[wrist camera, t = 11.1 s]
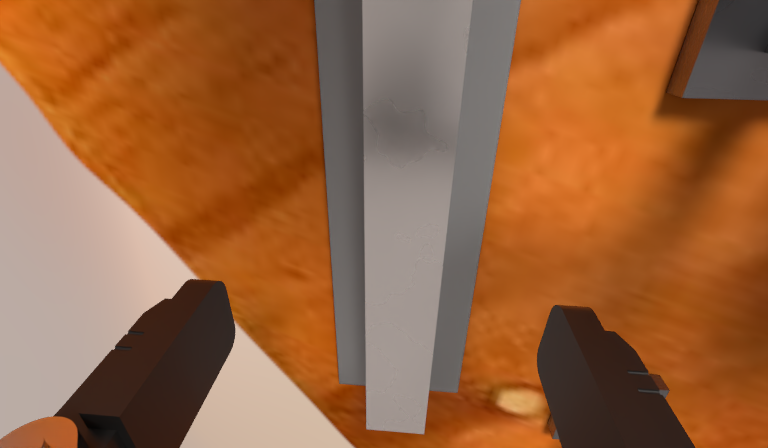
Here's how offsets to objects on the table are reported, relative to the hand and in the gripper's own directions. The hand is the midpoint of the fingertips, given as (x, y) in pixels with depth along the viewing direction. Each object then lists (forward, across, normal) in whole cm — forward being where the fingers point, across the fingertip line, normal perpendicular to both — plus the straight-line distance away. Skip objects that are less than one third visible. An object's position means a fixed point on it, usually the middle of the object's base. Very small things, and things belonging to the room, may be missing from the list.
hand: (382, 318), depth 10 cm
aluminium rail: (+8, 0, +1) cm, 8 cm away
